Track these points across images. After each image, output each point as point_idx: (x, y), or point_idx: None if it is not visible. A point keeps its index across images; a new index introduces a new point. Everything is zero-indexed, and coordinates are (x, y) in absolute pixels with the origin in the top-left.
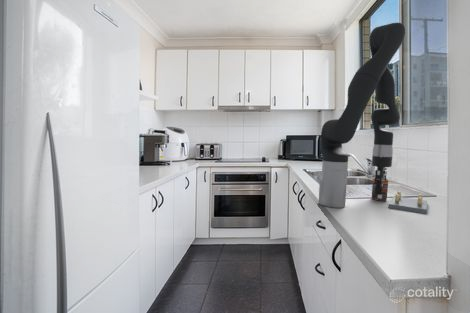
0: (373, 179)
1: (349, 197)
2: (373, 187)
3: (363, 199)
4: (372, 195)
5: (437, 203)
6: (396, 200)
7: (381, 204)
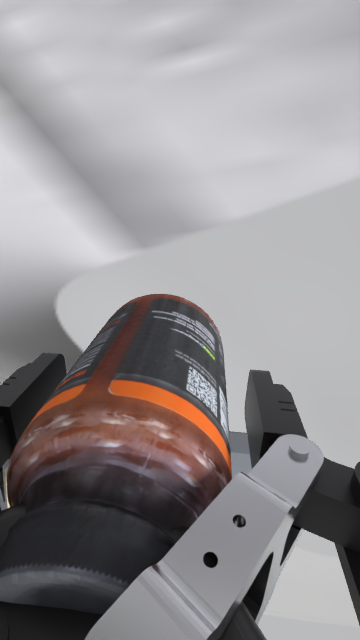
0: (58, 421)
1: (50, 76)
2: (82, 356)
3: (71, 231)
4: (120, 311)
5: (297, 606)
6: (5, 470)
7: (5, 367)
